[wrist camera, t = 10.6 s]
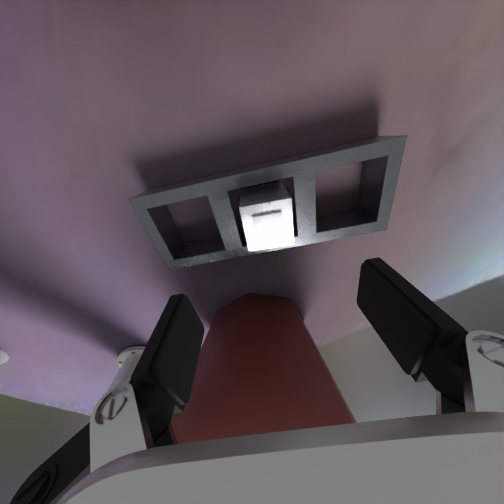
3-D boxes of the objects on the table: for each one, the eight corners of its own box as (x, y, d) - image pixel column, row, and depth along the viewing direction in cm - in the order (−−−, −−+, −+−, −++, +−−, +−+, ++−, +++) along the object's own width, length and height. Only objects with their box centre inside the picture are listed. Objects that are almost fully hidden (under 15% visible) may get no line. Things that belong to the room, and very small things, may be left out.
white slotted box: (282, 217, 23) (295, 245, 17) (248, 223, 24) (248, 253, 17) (279, 181, 21) (292, 199, 15) (241, 188, 21) (238, 208, 15)
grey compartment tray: (378, 136, 19) (407, 135, 15) (366, 216, 23) (386, 229, 20) (147, 189, 21) (128, 199, 18) (179, 252, 26) (169, 269, 22)
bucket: (217, 360, 42) (185, 586, 21) (171, 294, 30) (-8, 654, 9) (324, 343, 39) (414, 588, 18) (318, 263, 27) (558, 691, 6)
